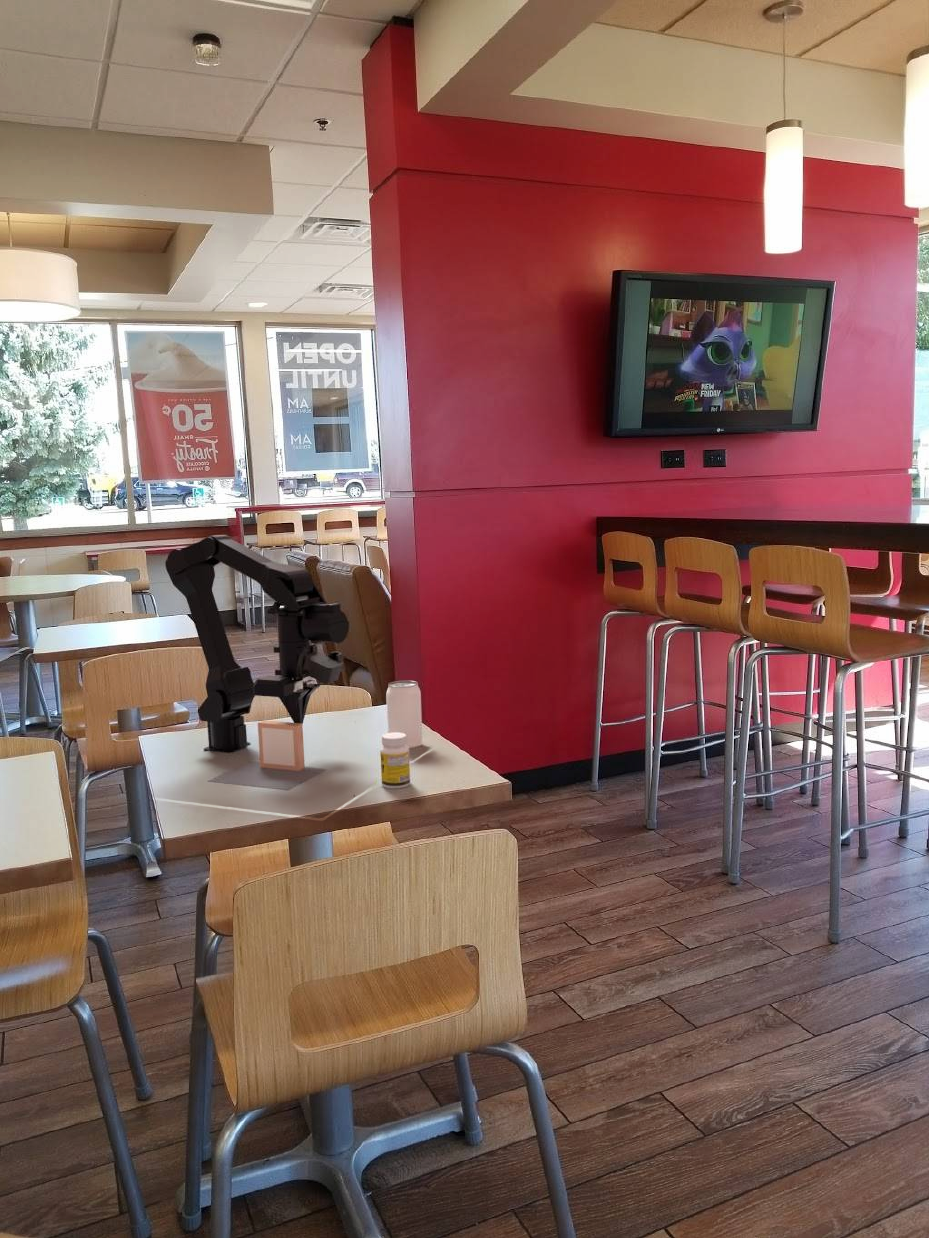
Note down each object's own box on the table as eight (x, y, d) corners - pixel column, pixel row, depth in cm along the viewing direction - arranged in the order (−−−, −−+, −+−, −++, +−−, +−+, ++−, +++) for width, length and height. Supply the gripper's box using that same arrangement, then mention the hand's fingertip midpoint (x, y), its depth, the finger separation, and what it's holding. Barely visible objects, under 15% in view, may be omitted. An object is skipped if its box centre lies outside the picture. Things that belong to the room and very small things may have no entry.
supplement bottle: (383, 780, 157) (381, 731, 156) (411, 780, 157) (409, 731, 156) (380, 789, 152) (377, 739, 151) (409, 789, 152) (407, 738, 151)
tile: (260, 767, 165) (257, 722, 164) (266, 764, 167) (263, 720, 166) (299, 771, 162) (296, 726, 161) (304, 768, 164) (302, 723, 163)
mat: (207, 783, 158) (207, 780, 158) (249, 763, 169) (249, 761, 169) (288, 792, 152) (288, 790, 152) (326, 771, 163) (326, 769, 163)
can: (417, 750, 174) (415, 687, 173) (384, 749, 176) (381, 686, 174) (426, 741, 181) (424, 680, 179) (393, 740, 182) (391, 679, 180)
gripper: (305, 650, 156) (309, 741, 158) (359, 633, 173) (363, 716, 175) (249, 647, 160) (254, 736, 162) (307, 631, 177) (311, 712, 179)
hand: (298, 725), depth 169 cm, fingers closed
